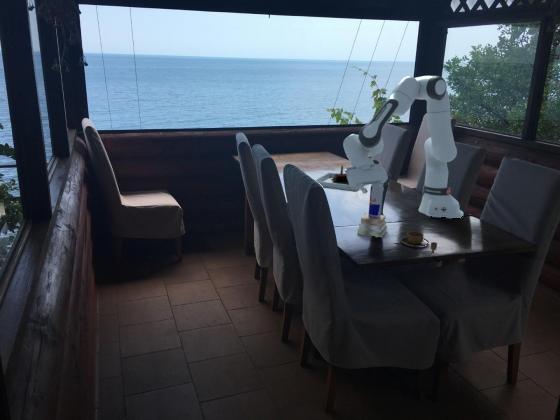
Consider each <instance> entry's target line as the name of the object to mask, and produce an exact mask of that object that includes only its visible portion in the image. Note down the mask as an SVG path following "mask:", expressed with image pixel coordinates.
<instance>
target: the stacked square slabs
mask: <svg viewBox="0 0 560 420" xmlns="http://www.w3.org/2000/svg"><path fill="white" fill-rule="evenodd" d="M368 215H369V212H366V213H365V214H363V216H361V219H360V222H359V224H358V228H357V231H356V234H357V235H362V236H366V235H367V236H368V237H372V236H375V237H374V238H378V237H381V238H383V236H384V235H385V234H386V232H387V231H388V225H387V220H386V215H383V214H381V217H380V218H371V217H369V216H368ZM384 233H385V234H384Z"/></svg>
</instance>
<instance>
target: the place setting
mask: <svg viewBox="0 0 560 420" xmlns="http://www.w3.org/2000/svg"><path fill="white" fill-rule="evenodd" d="M403 238H407V239H406V240H407V242H409V243H407V242H404V240H403V241H402V239H403ZM423 239H424V240H426V241H427V242H428V243H429V240H428V239H426V238H425V237H424V233H422V232H420V231H414V230H413V231H407V232H406V236H402V237H401V238H400V243H401V242H402V243H403V244H406V245H410V246H425V245H427V244H428V243H427V244H426V243H425V244H422V245H419V244H421V243H422V242H424V241H423ZM402 243H401V244H402ZM411 243H415V244H417V245H414V244H411ZM418 243H419V244H418ZM403 244H402V245H403ZM406 245H405V246H406ZM428 245H429V244H428ZM428 245H427V246H428ZM437 247H438V243H437V242H434V241H432V242H430V249H431V254H432V253H434V254H435V251H436V250H437Z"/></svg>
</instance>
